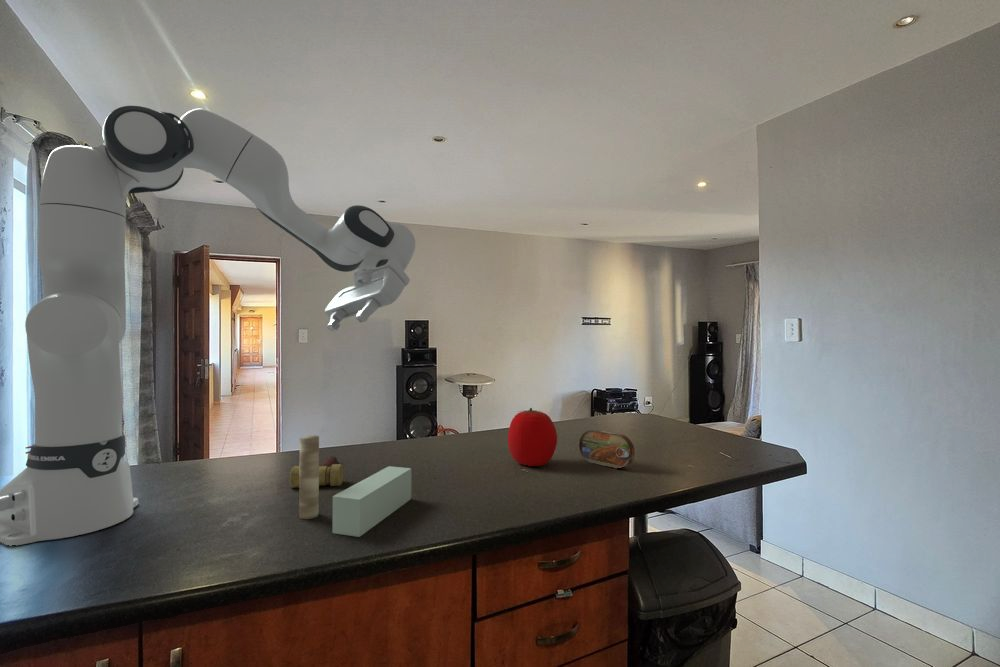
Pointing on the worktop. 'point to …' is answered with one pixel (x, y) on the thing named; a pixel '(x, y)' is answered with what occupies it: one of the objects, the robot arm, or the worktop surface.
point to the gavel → (322, 473)
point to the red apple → (532, 438)
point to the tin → (607, 447)
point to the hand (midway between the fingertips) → (345, 324)
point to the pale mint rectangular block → (370, 501)
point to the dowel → (309, 477)
